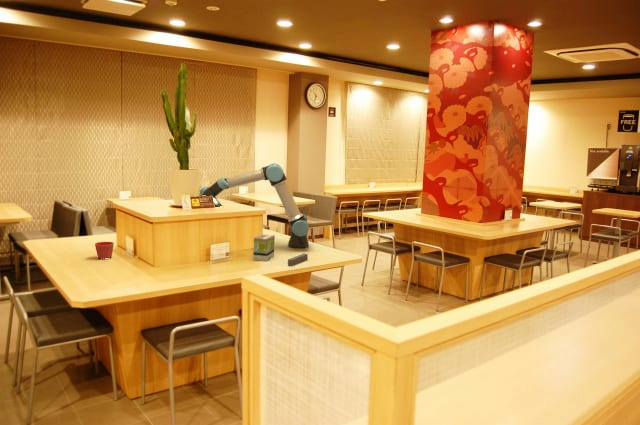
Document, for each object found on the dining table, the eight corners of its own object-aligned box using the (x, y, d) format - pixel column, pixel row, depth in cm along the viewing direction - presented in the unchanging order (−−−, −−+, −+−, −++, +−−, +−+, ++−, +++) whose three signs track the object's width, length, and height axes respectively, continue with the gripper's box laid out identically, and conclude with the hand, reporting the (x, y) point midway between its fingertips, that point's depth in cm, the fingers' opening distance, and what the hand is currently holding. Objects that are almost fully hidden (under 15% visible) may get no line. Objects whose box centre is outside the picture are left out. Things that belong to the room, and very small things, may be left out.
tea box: (267, 261, 322) (268, 238, 320) (252, 260, 324) (253, 237, 322) (274, 256, 337) (274, 234, 335) (260, 255, 339) (260, 233, 337)
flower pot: (114, 259, 318) (113, 244, 316) (95, 260, 314) (94, 245, 312) (114, 255, 327) (113, 241, 326) (95, 256, 323) (95, 242, 322)
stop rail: (303, 259, 329) (303, 253, 329) (307, 260, 328) (307, 254, 328) (287, 265, 312) (287, 259, 311) (292, 266, 310) (292, 260, 310)
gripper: (218, 208, 351) (238, 235, 346) (206, 210, 339) (226, 237, 334) (224, 201, 348) (244, 228, 343) (212, 203, 336) (232, 230, 331)
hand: (235, 232), depth 338 cm, fingers closed
